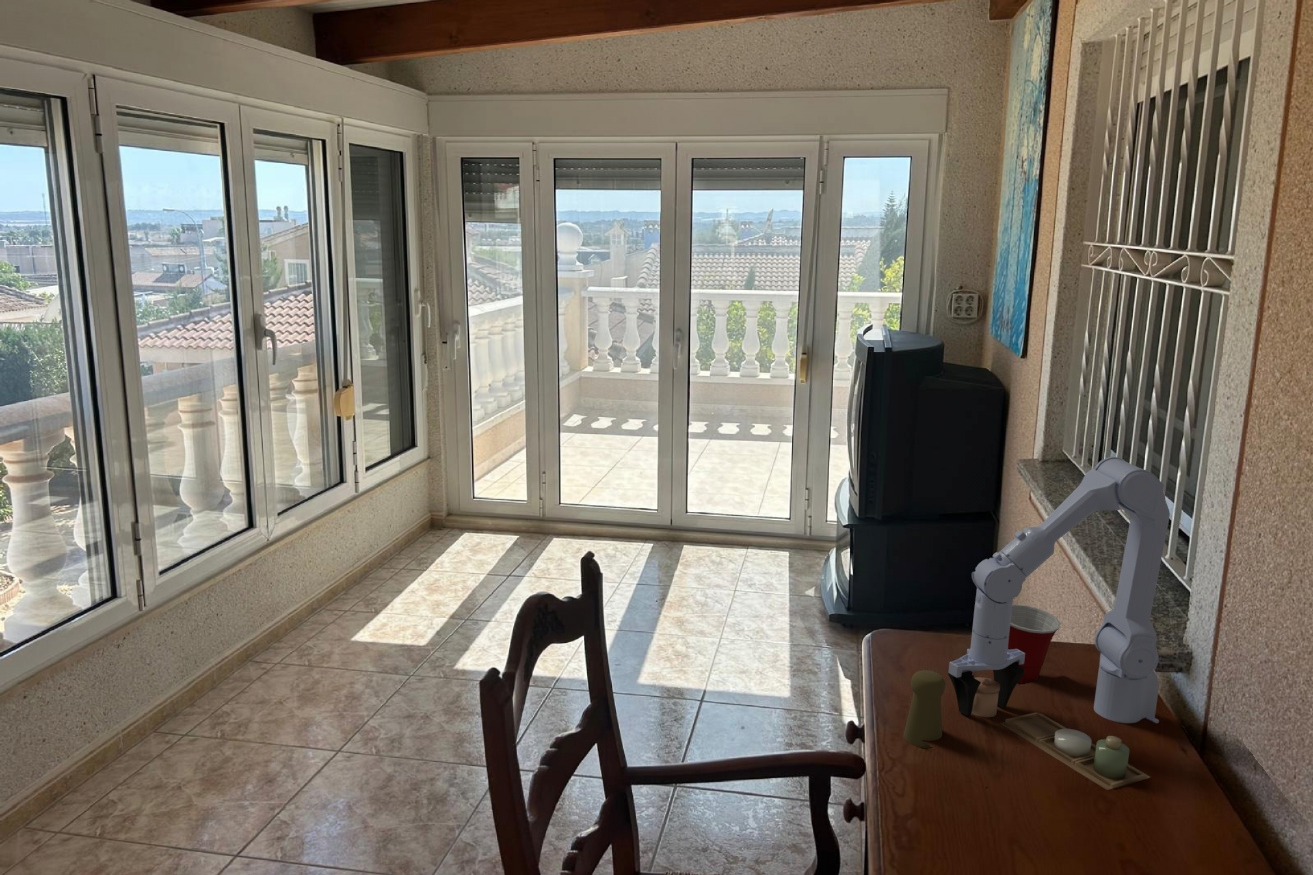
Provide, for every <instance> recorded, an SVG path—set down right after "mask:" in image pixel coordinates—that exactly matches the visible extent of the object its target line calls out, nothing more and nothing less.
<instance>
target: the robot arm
mask: <svg viewBox="0 0 1313 875" xmlns="http://www.w3.org/2000/svg"><path fill="white" fill-rule="evenodd" d="M1164 486H1165V485H1164V483H1163V482H1162V481H1161V480H1160V479H1159V478H1158V477H1157V476H1156V475H1155V474H1154V473H1153V472H1151V471H1150V470H1146V469H1145V468H1144V469H1143V468H1141V467H1139V466H1136V465H1134V464H1132V463H1130V462H1128V461H1125V459H1123V458H1122V457H1117V456H1110V457H1105V458H1103V459H1102V460H1100V461H1099V462H1097V464H1096V465H1095V466H1094V468H1092V469H1090V470H1089V471H1087V472H1086V473H1085V475H1084V476H1083V478H1082V479H1081V481H1080V484H1079V485H1078V486H1077V487H1076V488H1075V489H1074V490H1073V492H1071V494H1069V496H1067V497H1066V498H1065V499H1064V500H1063V501H1062V503H1060V504H1059V505H1058V507H1057V508H1055V510H1054V511H1052V512H1051V514H1050V515H1049V516H1048V517H1047V518H1046V519H1045V520H1043V522H1042V523H1041V524H1040V525H1039V526H1027V527H1025V528H1024V529H1023V530H1021V529H1018V530H1017V531H1016V532H1015V533H1014V534H1013V536H1014V538H1013V539H1011V541H1010V542H1009V543H1007V544H1006V545H1005V546H1004V547H1003V548H1002V549H1000V551H996V552H995V553H993V555H992V557H989V559H988V558H985V559H983V560H982V561H981V562H979V563H978V564H977V566H976V567H975V571H972V572H971V579H972V582H973V583H974V585H975V586H976V593H975V594H976V595H975V601H974V603H975V604H974V611H973V621H972V630H971V631H972V632H971V639H970V640H971V641H970V648H967V650H966V654H965V655H962V656H961V657H959V658H957V659H956V660H953V661H949V664H948V669H947V675H948V678H949V679H950V681H951V683H952V686H953V689H954V692H955V694H956V700H957V707H958V712H960V713H961V714H963V715H964V716H965V717H969V716H971V714H972V709H973V702H974V697H975V694H976V691H977V689H978V687H979V685H980V684H981V682H980V681H978V680H976V679H975V678H976V677H975V675H973V673H977V672H980V671H990V670H991V671H992V672H993V680H994V681H996V682H998V683H999V684H1000V691H999V695H998V704H997V707H999V708H1002V709H1005V708H1006V707H1007V705H1008V702H1009V700H1010V698H1011V695H1012V693H1013V691H1014V690H1015V687H1016V686H1017V684H1018V683H1019V682H1018V681H1019V680H1020V679H1021V678H1022V677H1023V676H1024V672H1025V670H1024V669H1023V668H1022V667H1020V666H1019V665H1021V664H1024V660H1025V653H1024V652H1022V651H1020V650H1018V649H1012V650H1008V640H1009V631H1010V622H1011V614H1012V605H1013V602H1014V599H1015V598H1017V597H1019V595H1020V594H1021V591H1022V589H1023V583H1024V582H1025V581H1026V579H1027V578H1028V577H1029V576H1031V574H1032V573H1034V572H1035V571H1036V569H1038V568H1039V567H1040V566H1041V565H1043V563H1045V562H1046V561H1047V560H1048V559H1050V557H1052V555H1054V554H1055V544H1056V542H1057V541H1059V540H1060V538H1062V537H1063V536H1065V535H1066V534H1067V533H1069V531H1071V530H1072V529H1074V528H1075V527H1076V526H1078V525H1079V524H1081V523H1082V522H1083V521H1084V520H1085V519H1086V518H1088V517H1089V516H1090V515H1091V514H1093V513H1094V512H1097V511H1098V512H1099V511H1119V510H1121V509H1122V510H1123V511H1124V513H1126V515H1128V517H1129V519H1130V520H1129V525H1128V530H1127V534H1126V535H1127V536H1126V542H1125V547H1124V552H1123V557H1122V564H1121V568H1120V573H1119V579H1118V586H1117V590H1116V594H1115V595H1116V596H1115V600H1114V607H1113V609H1112V610H1109V611H1108V612H1106V613H1105V614H1104V617H1103V622H1102V623H1101V625H1100V627H1099V628H1098V629H1097V631H1096V633H1095V635H1094V645H1095V648H1096V649H1097V651H1099V653H1100V655H1099V666H1098V673H1097V681H1096V689H1095V694H1094V697H1095V698H1094V701H1093V702H1094V703H1093V710H1094V712H1095V713H1096V714H1098V716H1100V717H1102V718H1104V719H1107V720H1109V721H1113V722H1115V723H1121V724H1133V723H1134V724H1135V723H1137V722H1139V721H1141V720H1142V719H1146V720H1149V721H1151V722H1153V723H1155V724H1159V723H1160V720H1159V719H1158V718H1156V716H1155V715H1156V710H1157V703H1158V697H1159V691H1160V690H1159V689H1160V685H1159V684H1160V683H1159V679H1158V676H1157V674H1156V673H1155V670H1156V668H1157V666H1158V664H1159V658H1160V656H1159V653H1158V650H1157V641H1158V636H1157V633H1156V630H1155V627H1154V625H1153V623H1152V620H1151V614H1152V611H1153V610H1152V609H1153V604H1154V600H1155V594H1156V589H1157V582H1158V578H1159V575H1160V574H1159V573H1160V570H1161V569H1160V568H1161V564H1162V558H1163V552H1164V547H1165V543H1166V537H1167V532H1168V526H1169V522H1170V517H1171V516H1170V514H1171V513H1170V509H1169V506H1168V504H1167V501H1166V497H1165V495H1164V493H1163V492H1164Z"/></svg>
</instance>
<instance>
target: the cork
mask: <svg viewBox="0 0 1313 875" xmlns="http://www.w3.org/2000/svg"><path fill="white" fill-rule="evenodd" d="M910 687H911V690H912V692H913V694H912V697H911V702H910V706H909V710H908V711H909V712H908V714H907V715H908V716H907V719H906V723H905V727H904V732H903V739H904V740H905V741H906V742H907V743H908V744H911V745H913V746H915V747H918V748H922V749H933V746H931V745H930V744H928V743H927V742H928V741H929V742H932V741H937V740H939V739H941V738H942V737H943V721H942V720H943V719H942V702H941V701H942V700H941V699H942V698H941V697H942V695H943V694H945V690H946V681H945V679H944V677H943V676H942V675H941V674H940V673H938V672H936V671H933V670H928V669H927V670H925V669H922V670H918V671H916V672H915V673H913V674H912V677H911V680H910ZM925 741H927V742H925Z"/></svg>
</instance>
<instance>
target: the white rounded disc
mask: <svg viewBox="0 0 1313 875" xmlns="http://www.w3.org/2000/svg"><path fill="white" fill-rule="evenodd" d="M1091 743H1093V742H1092V738H1091V737H1090V736H1089V735H1087V733H1084V732H1083V731H1080V730H1076V729H1073V728H1072V729H1071V728H1067V729H1059V730H1057V731H1056V732H1055V739H1054V748H1056V749H1058V750H1059V751H1061V752H1063V753H1064V754H1066V755H1068V756H1070V757H1076V758H1080V757H1083V756H1087V755H1090V750H1091Z"/></svg>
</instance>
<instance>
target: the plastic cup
mask: <svg viewBox="0 0 1313 875" xmlns="http://www.w3.org/2000/svg"><path fill="white" fill-rule="evenodd" d="M1061 625H1062V624H1061V621H1060V620H1059V618H1058V617H1056V616H1055V615H1053V614H1052V613H1050V612H1048V611H1046V610H1043V609H1041V608H1037V607H1034V606H1029V605H1024V604H1012V614H1011V622H1010V631H1009V640H1008V650H1012V649H1018V650H1020V651H1022V652H1024V653H1025V660H1024V664H1021V665H1019V666H1020V667H1022V668H1023V669H1024V670H1025V672H1024V676H1023V677H1022V678H1021V679H1020V680H1019V681H1018V683H1019V682H1020V683H1019V684H1026V683H1027V684H1031V683H1035V682H1038V679H1039V677H1040V674H1041V671H1042V670H1041V669H1042V667H1043V666H1044V663H1045V659H1046V656H1047V654H1048V651H1049V647H1050V644H1051V641H1053V637H1054V636H1055V633H1057V631H1059V630H1060V627H1061Z"/></svg>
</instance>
